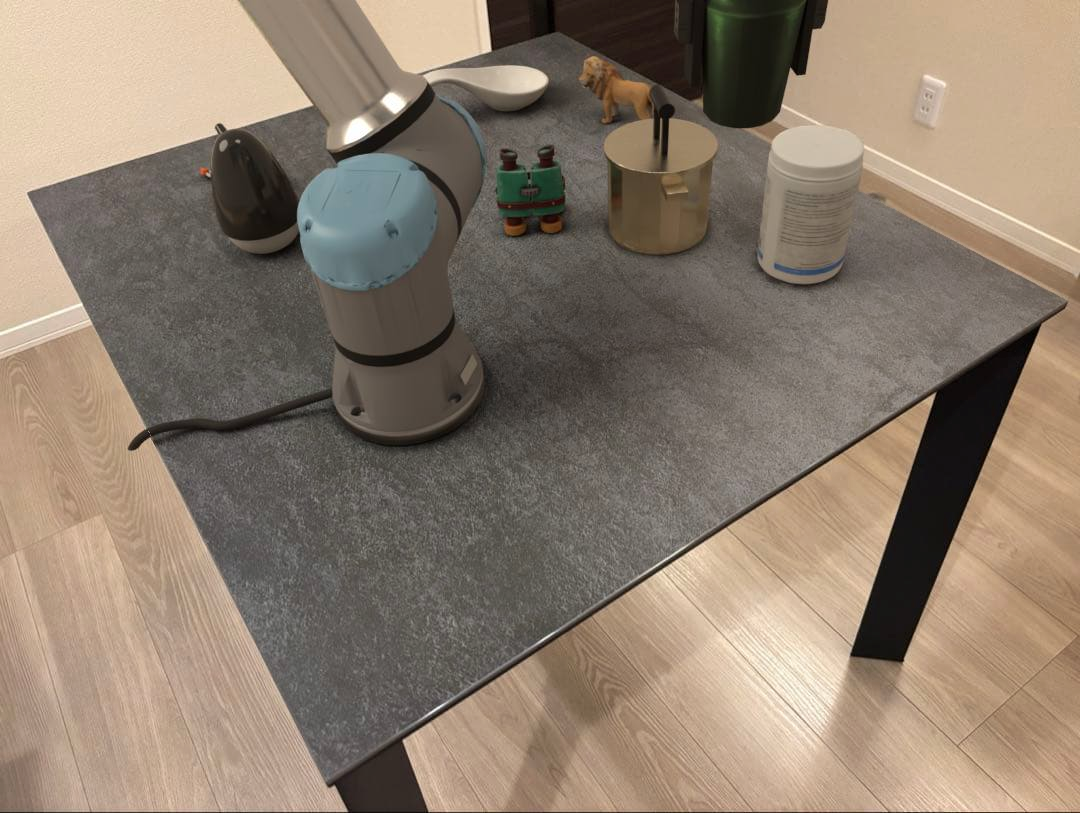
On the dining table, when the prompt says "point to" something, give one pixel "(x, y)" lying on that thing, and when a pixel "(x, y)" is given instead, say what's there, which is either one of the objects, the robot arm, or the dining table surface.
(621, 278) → the dining table surface
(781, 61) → the potion bottle
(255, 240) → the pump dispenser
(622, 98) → the lion figurine
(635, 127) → the pot lid
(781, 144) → the supplement tub
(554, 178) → the toy field glasses
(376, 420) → the robot arm
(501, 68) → the spoon rest
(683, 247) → the pot
